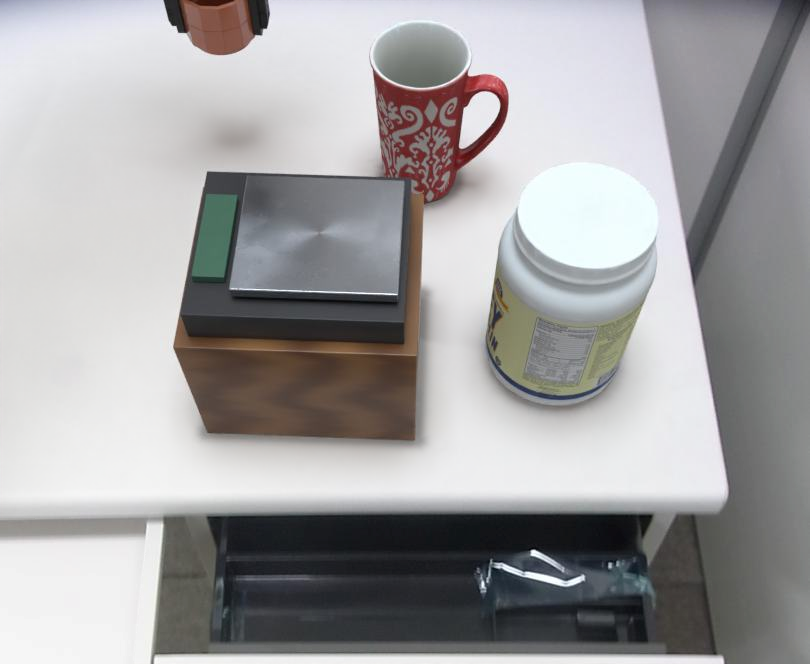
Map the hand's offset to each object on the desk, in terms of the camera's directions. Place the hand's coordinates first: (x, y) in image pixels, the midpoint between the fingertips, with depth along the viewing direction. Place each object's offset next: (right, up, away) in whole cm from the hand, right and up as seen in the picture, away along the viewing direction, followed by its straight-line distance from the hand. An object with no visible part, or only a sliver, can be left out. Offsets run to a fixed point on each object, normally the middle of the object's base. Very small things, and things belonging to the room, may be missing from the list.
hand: (221, 28), depth 76 cm
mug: (+20, -10, +9) cm, 24 cm away
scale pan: (+10, -24, -14) cm, 30 cm away
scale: (+9, -25, -11) cm, 29 cm away
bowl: (0, 0, +1) cm, 1 cm away
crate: (+9, -30, 0) cm, 31 cm away
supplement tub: (+30, -30, 0) cm, 42 cm away
